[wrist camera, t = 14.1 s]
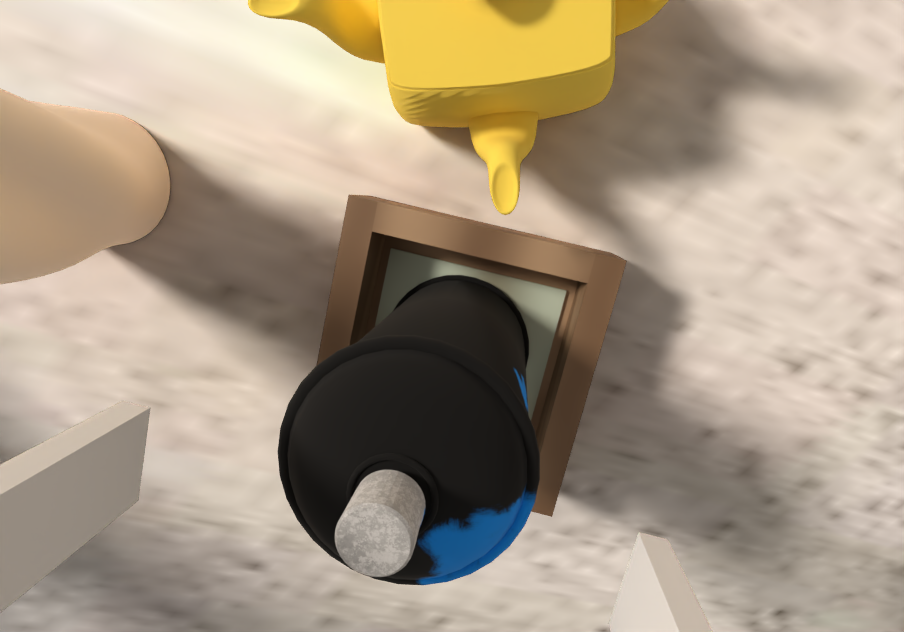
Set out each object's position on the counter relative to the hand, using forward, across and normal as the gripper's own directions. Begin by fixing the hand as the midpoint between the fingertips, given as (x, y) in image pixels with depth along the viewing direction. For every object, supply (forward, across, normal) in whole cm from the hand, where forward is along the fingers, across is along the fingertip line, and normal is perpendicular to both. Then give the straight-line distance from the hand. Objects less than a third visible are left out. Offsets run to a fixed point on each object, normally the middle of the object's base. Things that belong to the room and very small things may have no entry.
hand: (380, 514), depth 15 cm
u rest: (+20, +1, 0) cm, 20 cm away
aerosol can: (+19, 0, 0) cm, 19 cm away
